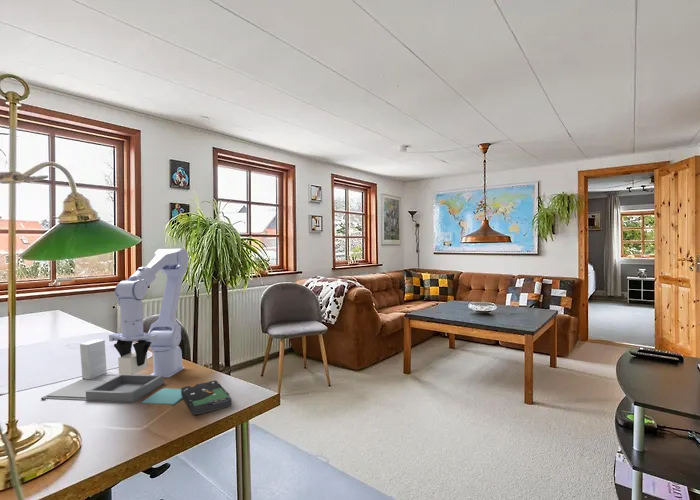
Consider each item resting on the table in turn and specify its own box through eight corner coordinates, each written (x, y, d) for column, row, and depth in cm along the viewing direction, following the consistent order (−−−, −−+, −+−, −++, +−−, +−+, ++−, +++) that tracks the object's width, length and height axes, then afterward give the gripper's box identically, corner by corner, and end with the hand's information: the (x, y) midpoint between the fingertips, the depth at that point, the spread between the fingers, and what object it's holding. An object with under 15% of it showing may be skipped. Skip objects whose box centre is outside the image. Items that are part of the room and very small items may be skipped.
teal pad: (163, 389, 118) (163, 388, 118) (193, 390, 116) (193, 389, 116) (141, 404, 108) (141, 402, 108) (173, 405, 107) (173, 403, 107)
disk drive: (180, 397, 111) (193, 416, 99) (180, 387, 111) (193, 405, 99) (216, 388, 117) (232, 405, 105) (216, 379, 117) (232, 395, 105)
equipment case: (80, 381, 126) (80, 372, 126) (163, 384, 122) (163, 375, 122) (41, 399, 113) (40, 389, 112) (133, 403, 108) (132, 393, 108)
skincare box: (98, 372, 135) (96, 339, 134) (107, 373, 133) (105, 339, 133) (81, 378, 129) (79, 343, 129) (90, 379, 128) (88, 344, 127)
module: (135, 366, 119) (135, 350, 118) (147, 366, 118) (146, 350, 118) (119, 374, 112) (118, 358, 111) (131, 375, 111) (130, 358, 111)
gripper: (100, 323, 112) (102, 368, 112) (144, 323, 109) (146, 370, 110) (118, 317, 119) (120, 360, 119) (160, 318, 116) (162, 362, 117)
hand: (134, 364), depth 115 cm, fingers closed on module, 4 cm apart
